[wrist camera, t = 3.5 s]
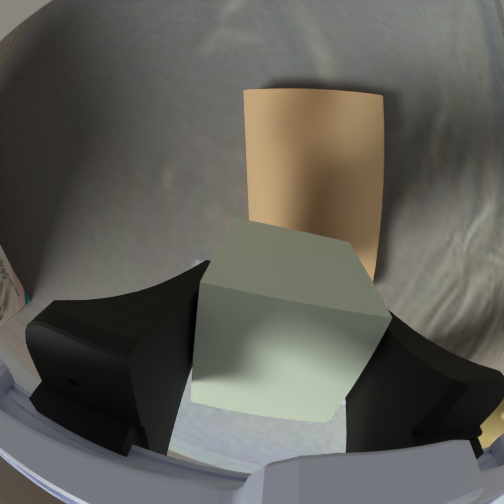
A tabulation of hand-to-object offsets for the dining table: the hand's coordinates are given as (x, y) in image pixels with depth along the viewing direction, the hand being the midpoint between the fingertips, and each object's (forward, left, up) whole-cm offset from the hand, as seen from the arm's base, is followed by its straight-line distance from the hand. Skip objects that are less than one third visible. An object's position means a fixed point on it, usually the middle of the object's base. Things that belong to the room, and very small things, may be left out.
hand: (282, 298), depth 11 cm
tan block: (-2, -2, -9) cm, 10 cm away
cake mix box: (+35, +8, -9) cm, 37 cm away
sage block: (0, 0, -2) cm, 2 cm away
